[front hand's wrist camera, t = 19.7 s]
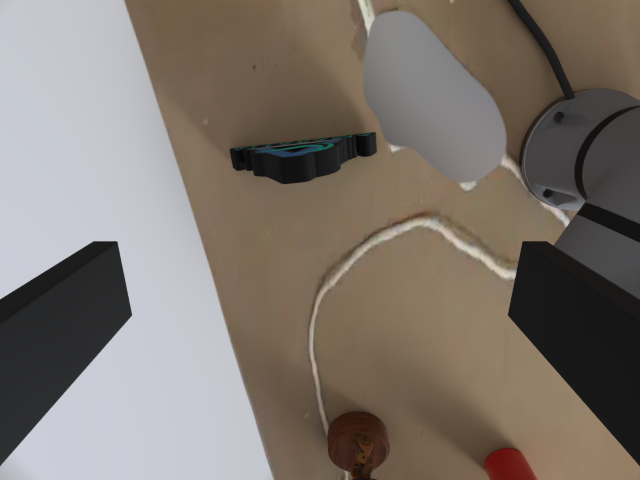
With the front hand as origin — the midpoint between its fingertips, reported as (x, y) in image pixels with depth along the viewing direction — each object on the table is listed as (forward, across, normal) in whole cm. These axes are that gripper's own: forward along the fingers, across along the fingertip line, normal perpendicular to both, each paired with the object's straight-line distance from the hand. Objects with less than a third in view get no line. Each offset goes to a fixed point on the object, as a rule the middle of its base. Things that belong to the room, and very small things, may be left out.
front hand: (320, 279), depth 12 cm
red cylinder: (+39, +34, -57) cm, 77 cm away
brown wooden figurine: (+39, +7, -51) cm, 65 cm away
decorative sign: (+39, -2, -1) cm, 39 cm away
